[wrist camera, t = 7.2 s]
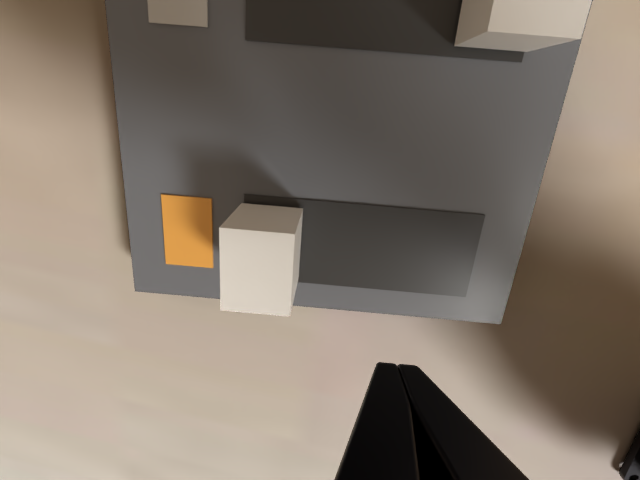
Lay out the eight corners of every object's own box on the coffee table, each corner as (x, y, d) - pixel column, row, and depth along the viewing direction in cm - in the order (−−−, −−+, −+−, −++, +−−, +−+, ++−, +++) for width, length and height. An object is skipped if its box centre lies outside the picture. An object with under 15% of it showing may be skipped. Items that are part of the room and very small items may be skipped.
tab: (298, 278, 16) (290, 316, 13) (241, 272, 16) (220, 310, 13) (302, 208, 15) (294, 234, 12) (241, 202, 15) (219, 227, 12)
